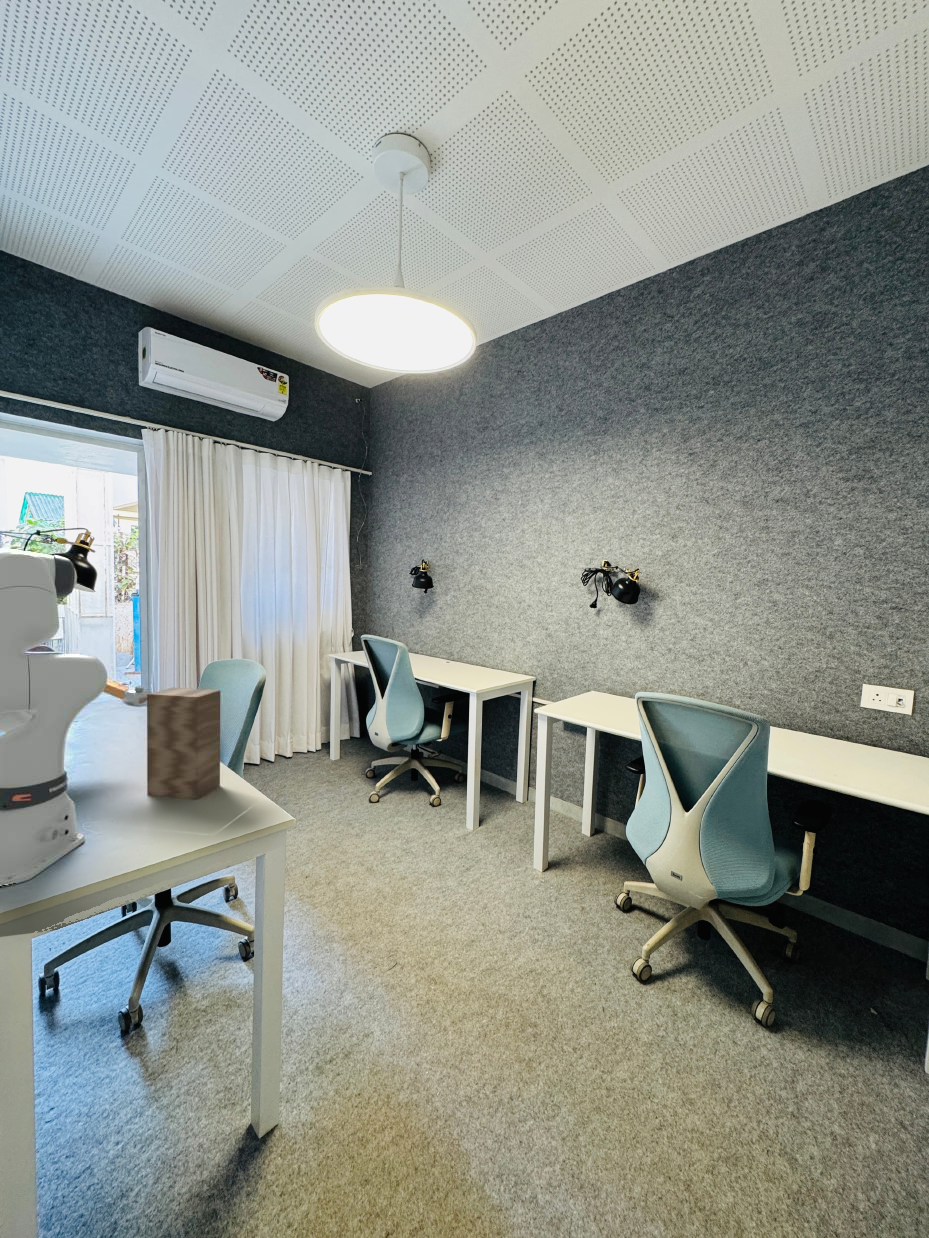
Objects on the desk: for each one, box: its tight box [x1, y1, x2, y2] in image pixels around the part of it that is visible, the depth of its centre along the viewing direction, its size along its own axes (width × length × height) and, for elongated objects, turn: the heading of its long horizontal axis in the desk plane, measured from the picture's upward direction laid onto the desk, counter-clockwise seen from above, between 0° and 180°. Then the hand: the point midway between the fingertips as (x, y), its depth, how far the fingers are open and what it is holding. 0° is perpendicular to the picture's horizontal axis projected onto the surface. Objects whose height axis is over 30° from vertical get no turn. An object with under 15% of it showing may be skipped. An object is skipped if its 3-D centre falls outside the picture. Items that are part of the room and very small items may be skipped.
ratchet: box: [102, 678, 153, 708], centre depth 131 cm, size 22×6×4 cm, turn 82°
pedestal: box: [146, 687, 221, 800], centre depth 129 cm, size 14×9×26 cm, turn 82°
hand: (86, 674), depth 132 cm, fingers closed on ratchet, 3 cm apart
